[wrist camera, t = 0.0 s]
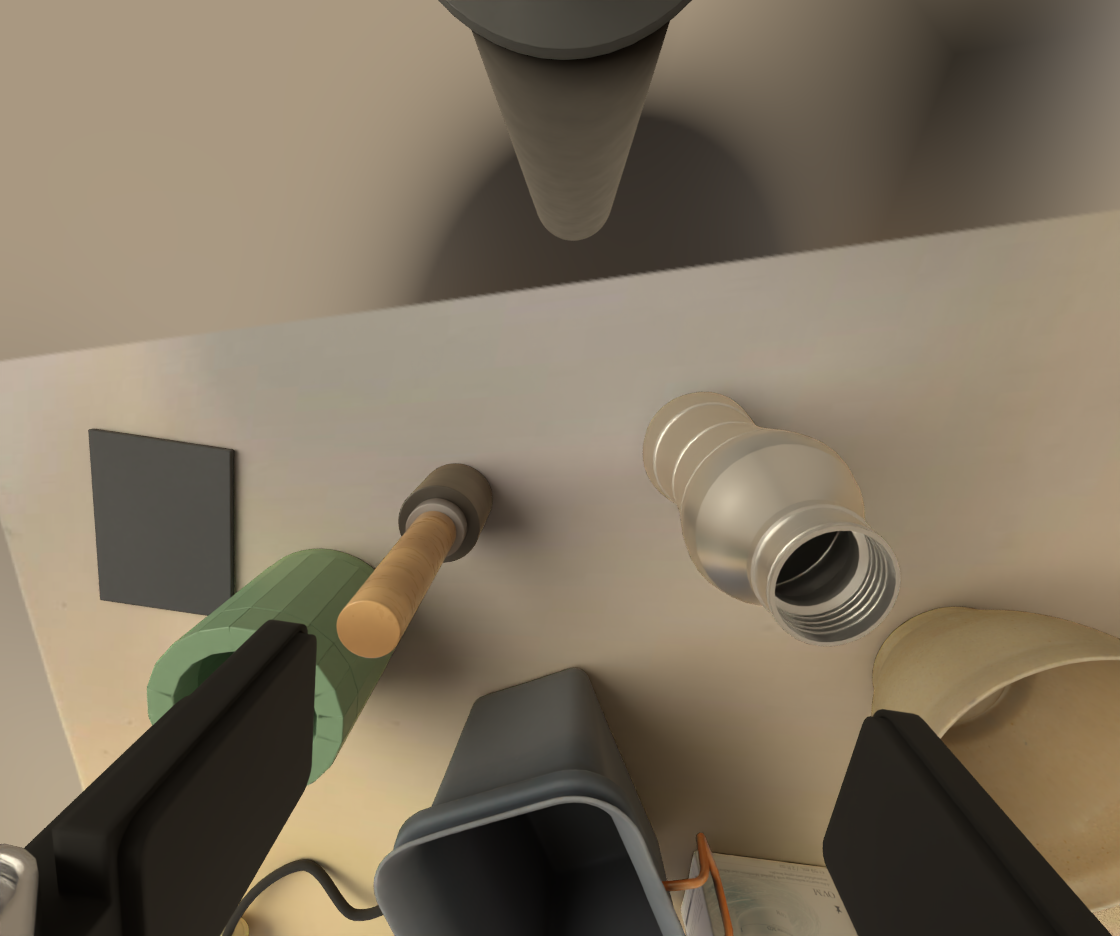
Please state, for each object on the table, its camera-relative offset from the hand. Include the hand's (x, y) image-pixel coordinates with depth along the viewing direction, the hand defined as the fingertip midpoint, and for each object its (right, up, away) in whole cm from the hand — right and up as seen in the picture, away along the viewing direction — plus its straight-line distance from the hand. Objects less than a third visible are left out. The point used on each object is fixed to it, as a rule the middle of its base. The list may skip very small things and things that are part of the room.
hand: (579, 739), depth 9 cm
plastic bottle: (+8, +6, +26) cm, 27 cm away
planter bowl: (+26, -9, +29) cm, 40 cm away
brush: (-7, +3, +27) cm, 28 cm away
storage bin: (+1, -17, +32) cm, 36 cm away
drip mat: (-26, +1, +28) cm, 38 cm away
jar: (-16, -6, +29) cm, 34 cm away
